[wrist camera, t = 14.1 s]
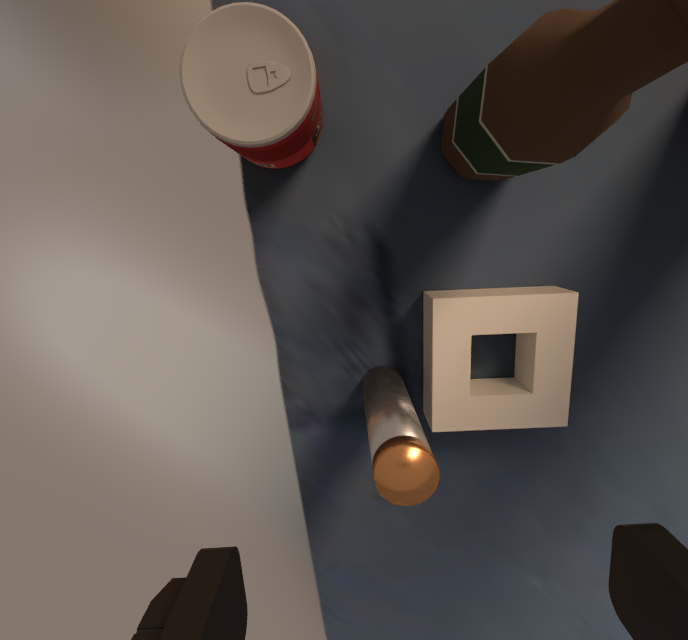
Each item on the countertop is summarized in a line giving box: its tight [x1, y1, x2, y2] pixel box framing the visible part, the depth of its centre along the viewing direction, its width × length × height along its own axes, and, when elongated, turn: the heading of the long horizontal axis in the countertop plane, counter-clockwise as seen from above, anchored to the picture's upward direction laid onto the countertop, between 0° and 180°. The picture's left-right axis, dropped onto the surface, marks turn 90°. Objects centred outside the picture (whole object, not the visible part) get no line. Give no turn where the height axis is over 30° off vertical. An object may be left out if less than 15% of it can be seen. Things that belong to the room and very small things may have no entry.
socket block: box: [423, 286, 579, 432], centre depth 37 cm, size 12×12×4 cm
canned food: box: [179, 2, 323, 169], centre depth 29 cm, size 8×8×11 cm
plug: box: [362, 366, 440, 506], centre depth 33 cm, size 4×4×15 cm
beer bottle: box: [441, 0, 688, 181], centre depth 23 cm, size 8×8×24 cm
